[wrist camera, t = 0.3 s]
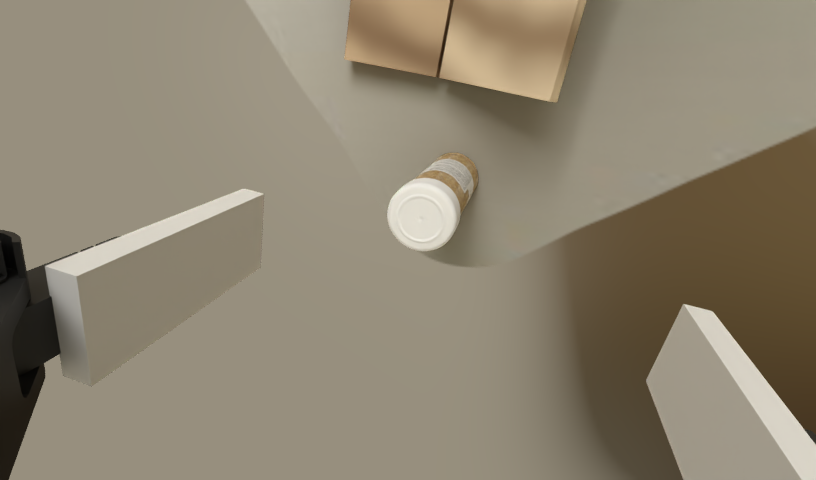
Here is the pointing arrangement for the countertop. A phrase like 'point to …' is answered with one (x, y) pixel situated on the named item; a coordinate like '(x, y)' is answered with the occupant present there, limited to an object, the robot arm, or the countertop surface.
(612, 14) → the countertop surface
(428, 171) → the sprinkles bottle
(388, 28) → the laid board
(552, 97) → the plank
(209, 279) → the robot arm
